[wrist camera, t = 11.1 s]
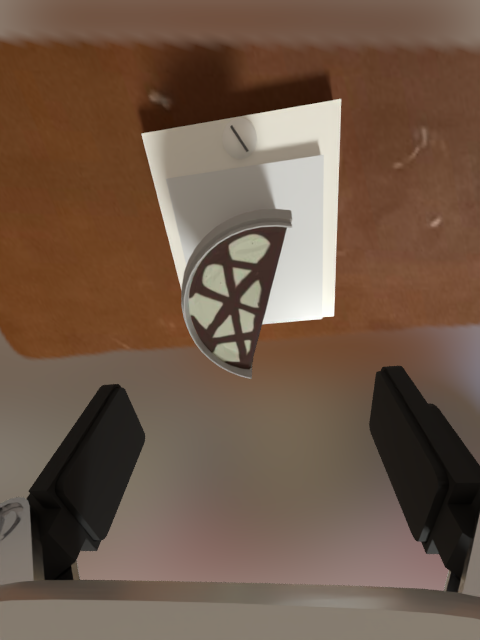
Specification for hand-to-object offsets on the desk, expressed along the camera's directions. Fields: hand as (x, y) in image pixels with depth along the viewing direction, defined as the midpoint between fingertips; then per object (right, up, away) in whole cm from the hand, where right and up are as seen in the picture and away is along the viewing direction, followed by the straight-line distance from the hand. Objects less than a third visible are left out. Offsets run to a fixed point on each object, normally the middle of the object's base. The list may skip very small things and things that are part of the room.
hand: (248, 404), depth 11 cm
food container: (-1, +9, +16) cm, 19 cm away
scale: (+1, +12, +18) cm, 22 cm away
